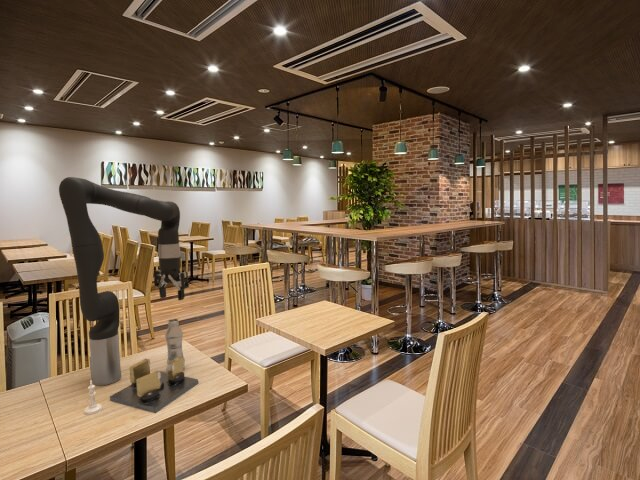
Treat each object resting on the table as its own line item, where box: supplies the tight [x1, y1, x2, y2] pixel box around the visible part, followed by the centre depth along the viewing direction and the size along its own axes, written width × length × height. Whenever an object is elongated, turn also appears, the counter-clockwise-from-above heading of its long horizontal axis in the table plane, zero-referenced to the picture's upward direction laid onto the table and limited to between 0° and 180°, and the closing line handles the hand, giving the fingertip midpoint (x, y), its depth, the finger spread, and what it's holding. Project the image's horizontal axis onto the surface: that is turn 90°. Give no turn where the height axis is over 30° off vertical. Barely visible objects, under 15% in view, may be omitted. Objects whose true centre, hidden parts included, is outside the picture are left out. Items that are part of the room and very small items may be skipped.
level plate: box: [109, 370, 199, 413], centre depth 129 cm, size 20×20×3 cm
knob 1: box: [128, 358, 151, 387], centre depth 132 cm, size 7×6×8 cm
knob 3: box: [166, 356, 186, 384], centre depth 133 cm, size 7×6×8 cm
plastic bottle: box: [164, 318, 185, 368], centre depth 145 cm, size 6×7×20 cm
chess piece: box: [84, 379, 103, 416], centre depth 118 cm, size 5×5×10 cm
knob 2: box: [136, 370, 161, 402], centre depth 122 cm, size 7×6×8 cm
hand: (172, 298), depth 138 cm, fingers open, 8 cm apart
